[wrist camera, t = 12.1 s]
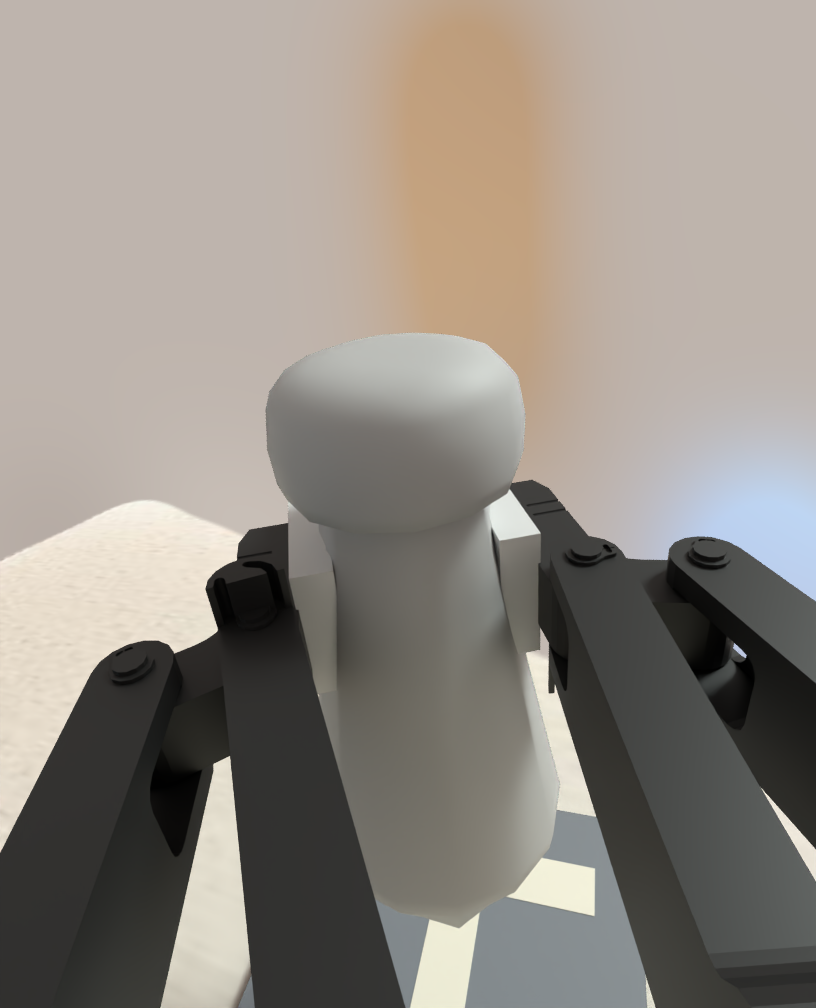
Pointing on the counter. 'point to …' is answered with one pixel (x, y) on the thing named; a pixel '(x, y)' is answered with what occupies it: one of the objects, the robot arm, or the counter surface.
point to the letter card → (527, 939)
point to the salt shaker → (421, 613)
